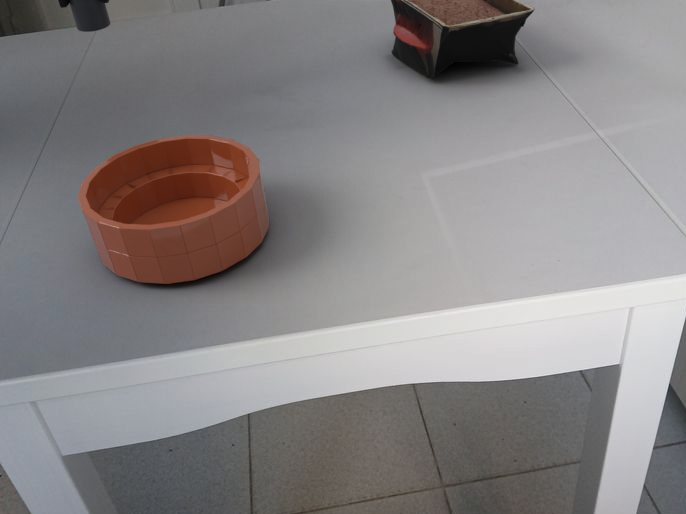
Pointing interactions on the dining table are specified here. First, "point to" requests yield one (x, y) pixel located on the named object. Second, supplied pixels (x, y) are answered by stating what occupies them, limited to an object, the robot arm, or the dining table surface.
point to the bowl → (176, 208)
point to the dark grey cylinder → (89, 15)
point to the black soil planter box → (456, 32)
